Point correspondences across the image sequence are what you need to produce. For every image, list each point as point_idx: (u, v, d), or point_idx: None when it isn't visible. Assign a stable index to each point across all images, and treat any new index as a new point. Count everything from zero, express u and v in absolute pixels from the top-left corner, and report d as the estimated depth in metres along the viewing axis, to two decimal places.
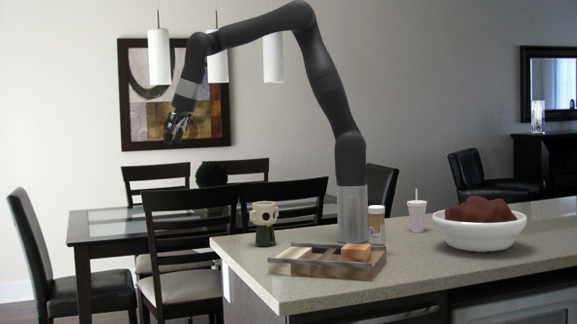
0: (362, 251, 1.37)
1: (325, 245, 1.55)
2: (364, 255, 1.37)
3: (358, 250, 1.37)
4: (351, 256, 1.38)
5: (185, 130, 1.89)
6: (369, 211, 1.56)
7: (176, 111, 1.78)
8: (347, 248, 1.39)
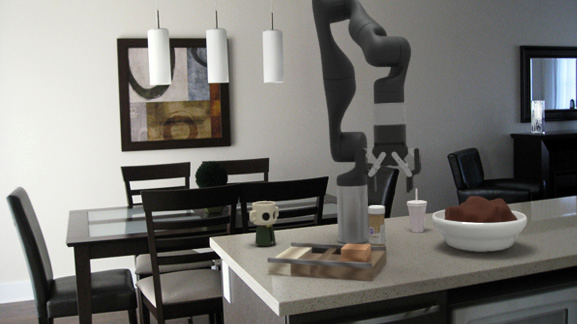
0: (362, 251, 1.37)
1: (325, 245, 1.55)
2: (364, 255, 1.37)
3: (358, 250, 1.37)
4: (351, 256, 1.38)
5: None
6: (369, 211, 1.56)
7: (406, 146, 1.34)
8: (347, 248, 1.39)
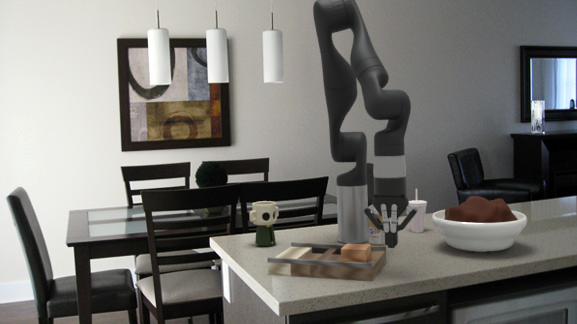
0: (362, 251, 1.37)
1: (325, 245, 1.55)
2: (364, 255, 1.37)
3: (358, 250, 1.37)
4: (351, 256, 1.38)
5: None
6: None
7: (406, 198, 1.34)
8: (347, 248, 1.39)
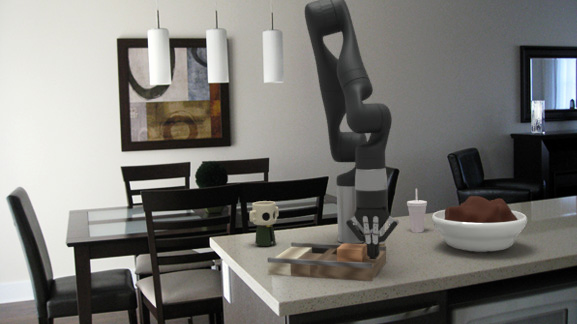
0: (358, 251, 1.37)
1: (325, 245, 1.55)
2: (360, 255, 1.37)
3: (354, 250, 1.37)
4: (347, 255, 1.38)
5: None
6: None
7: (387, 210, 1.37)
8: (343, 248, 1.39)
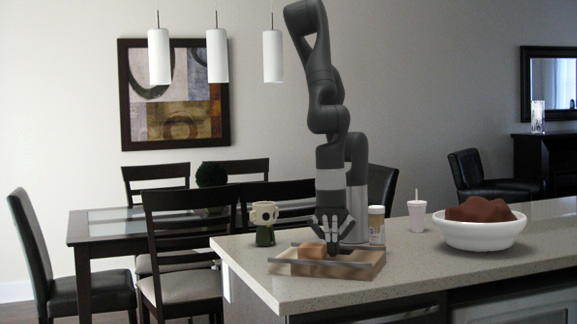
0: (318, 249, 1.40)
1: None
2: (319, 253, 1.40)
3: (314, 248, 1.40)
4: (307, 254, 1.41)
5: None
6: (369, 211, 1.56)
7: (346, 209, 1.40)
8: (303, 247, 1.42)
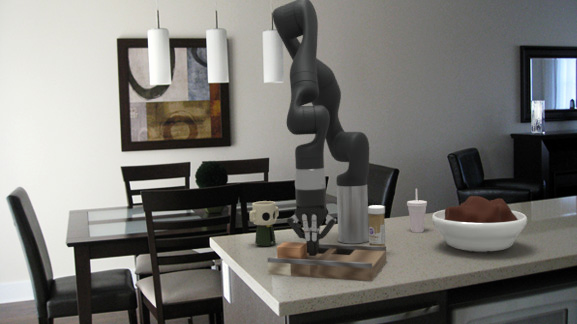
0: (297, 249, 1.41)
1: (325, 245, 1.55)
2: (299, 253, 1.41)
3: (293, 248, 1.42)
4: (287, 253, 1.42)
5: None
6: (369, 211, 1.56)
7: (325, 208, 1.42)
8: (283, 246, 1.43)
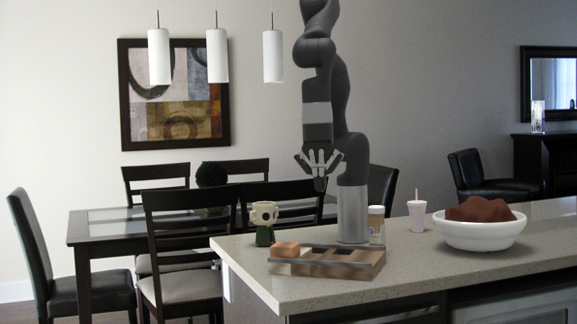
0: (290, 249, 1.42)
1: (325, 245, 1.55)
2: (292, 252, 1.42)
3: (286, 248, 1.42)
4: (279, 253, 1.43)
5: None
6: (369, 211, 1.56)
7: (332, 143, 1.40)
8: (276, 246, 1.44)
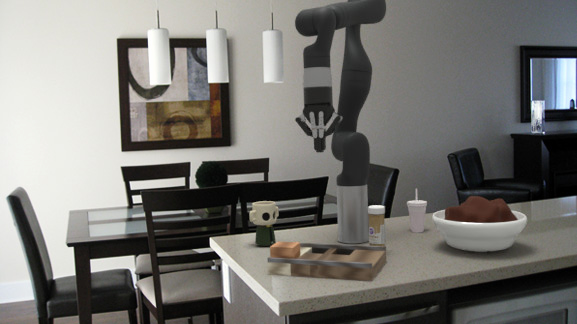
0: (290, 249, 1.42)
1: (325, 245, 1.55)
2: (292, 252, 1.42)
3: (286, 248, 1.42)
4: (279, 253, 1.43)
5: None
6: (369, 211, 1.56)
7: (331, 106, 1.49)
8: (276, 246, 1.44)
